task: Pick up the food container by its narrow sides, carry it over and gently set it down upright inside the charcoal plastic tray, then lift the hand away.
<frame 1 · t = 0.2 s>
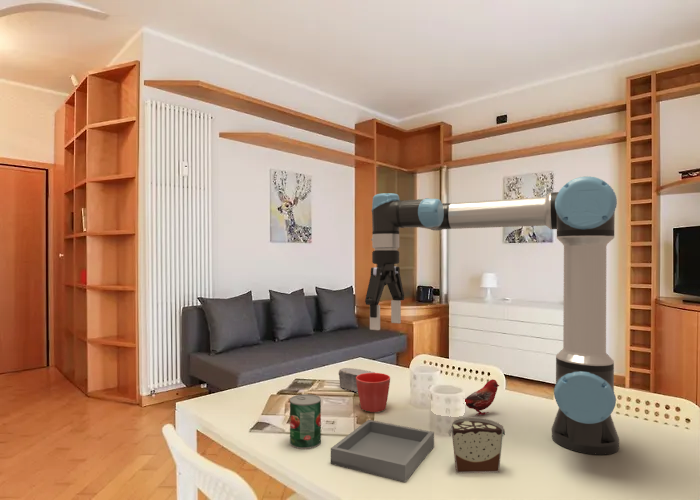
hand: (386, 326, 125), 28 cm above the table, tool pointing down, fingers open, 13 cm apart
decorative bird figurine: (476, 416, 132), on the table
tray: (384, 454, 107), on the table
food container: (473, 467, 101), on the table
decorative stone: (357, 390, 158), on the table
canned tomato: (305, 443, 114), on the table
flower pot: (373, 409, 139), on the table
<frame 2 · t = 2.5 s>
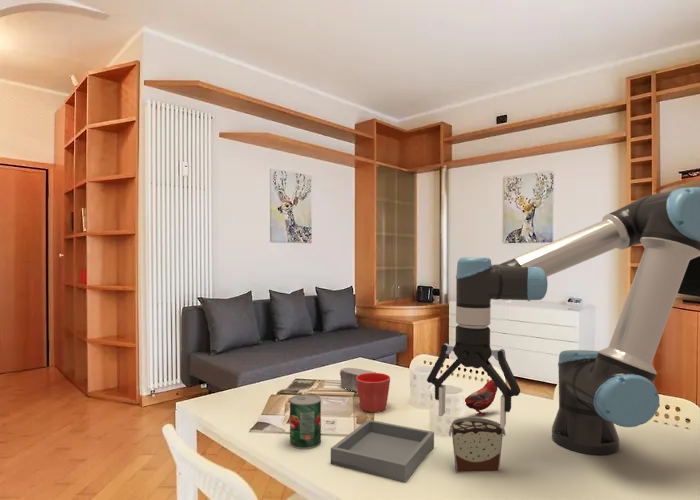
hand: (471, 420, 101), 10 cm above the table, tool pointing down, fingers open, 13 cm apart
food container: (473, 467, 101), on the table, touching gripper
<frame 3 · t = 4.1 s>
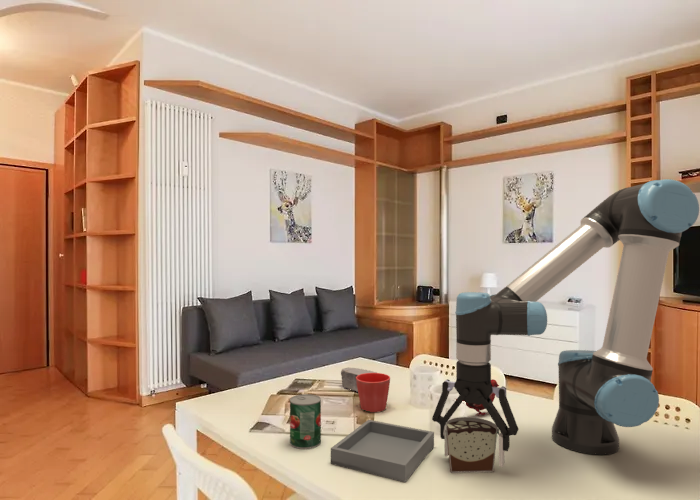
hand: (474, 458, 101), 2 cm above the table, tool pointing down, fingers closed on food container, 11 cm apart
food container: (468, 466, 101), on the table, touching gripper
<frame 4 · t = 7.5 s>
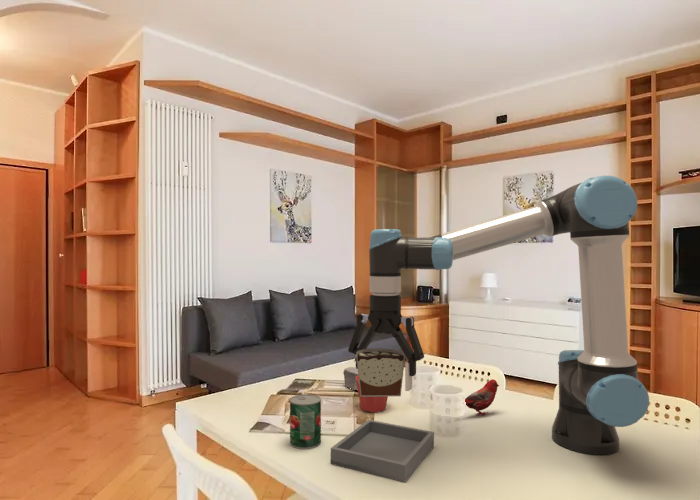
hand: (385, 386, 107), 16 cm above the table, tool pointing down, fingers closed on food container, 11 cm apart
food container: (379, 393, 107), point 14 cm above the table, touching gripper
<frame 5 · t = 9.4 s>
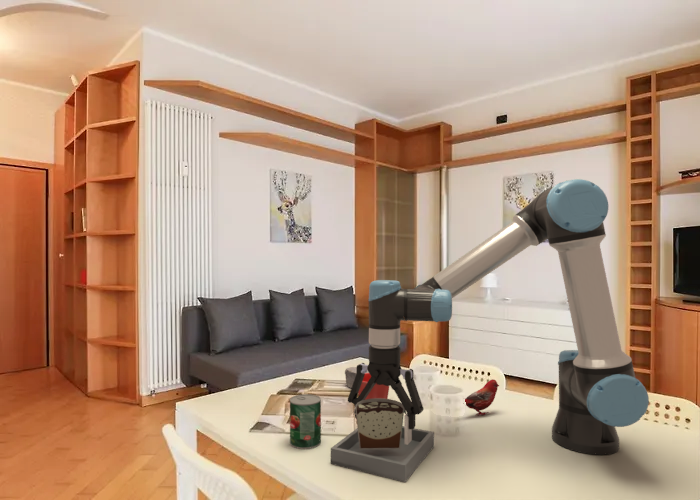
hand: (384, 437, 107), 4 cm above the table, tool pointing down, fingers closed on food container, 11 cm apart
food container: (378, 444, 107), point 2 cm above the table, touching gripper
when the fingers open (3 cm above the table, at t = 11.0 s): food container stays where it is, resting on tray.
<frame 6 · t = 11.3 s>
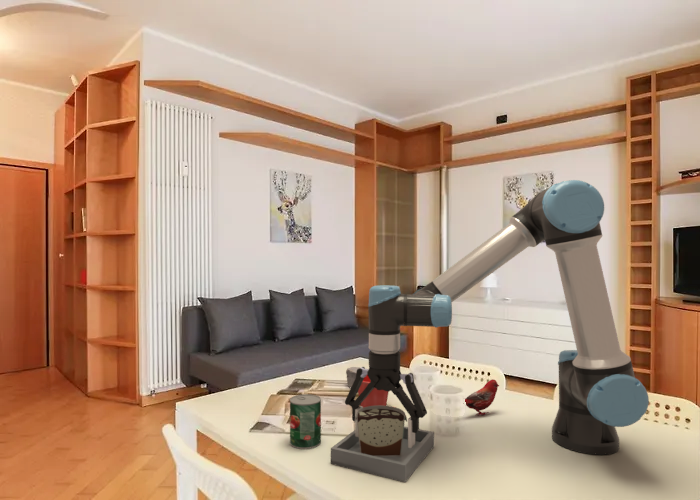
hand: (384, 440, 107), 3 cm above the table, tool pointing down, fingers open, 13 cm apart
food container: (379, 451, 107), point 1 cm above the table, touching tray
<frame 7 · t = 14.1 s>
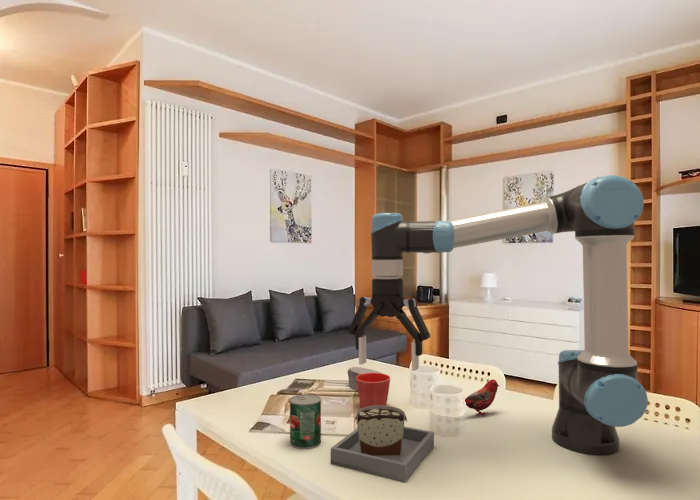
hand: (388, 366, 108), 21 cm above the table, tool pointing down, fingers open, 13 cm apart
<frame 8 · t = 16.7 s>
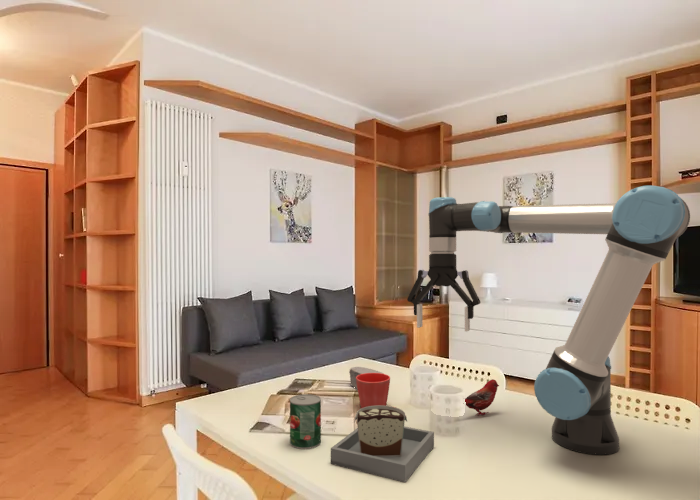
hand: (442, 328, 126), 27 cm above the table, tool pointing down, fingers open, 13 cm apart
at the end: food container inside the target area on the tray (1.2 cm from its centre), point 0.6 cm above the tray's base; food container tilted 0°; the gripper is holding nothing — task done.
